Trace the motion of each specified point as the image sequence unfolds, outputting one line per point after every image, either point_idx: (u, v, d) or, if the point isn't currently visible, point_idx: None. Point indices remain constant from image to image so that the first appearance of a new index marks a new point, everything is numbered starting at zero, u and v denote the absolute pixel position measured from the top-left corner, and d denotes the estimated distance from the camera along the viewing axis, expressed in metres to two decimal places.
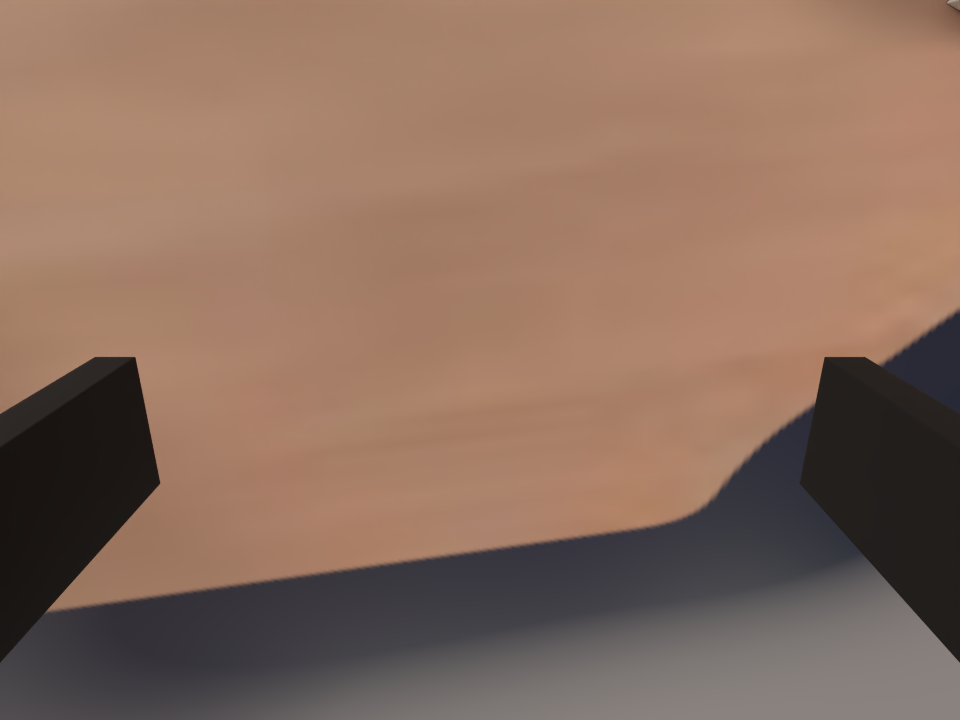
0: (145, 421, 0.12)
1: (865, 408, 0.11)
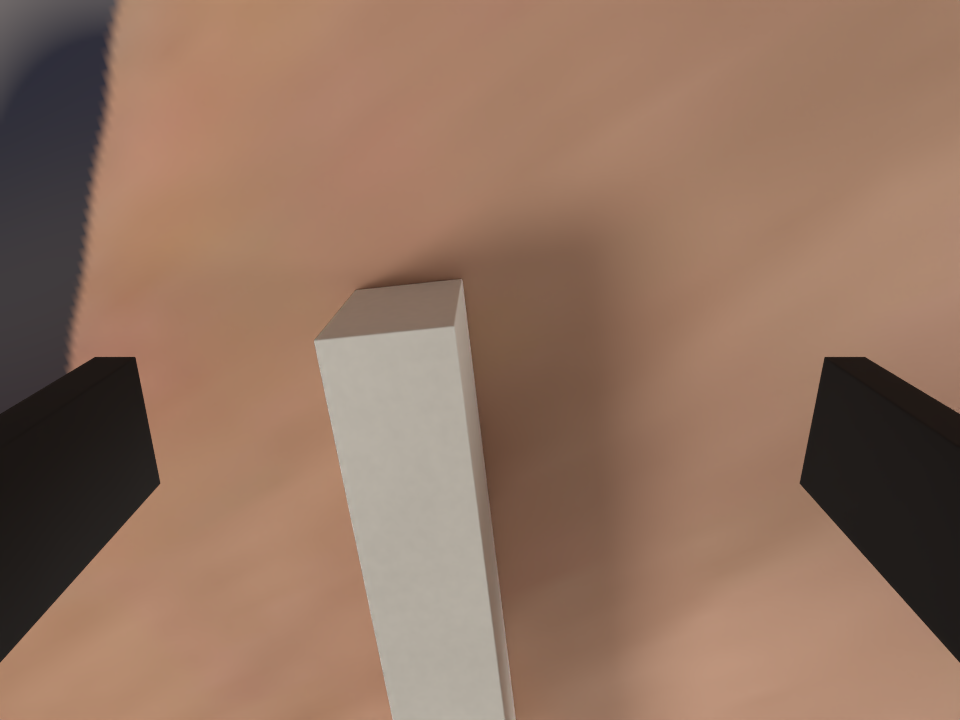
0: (145, 421, 0.12)
1: (866, 408, 0.11)
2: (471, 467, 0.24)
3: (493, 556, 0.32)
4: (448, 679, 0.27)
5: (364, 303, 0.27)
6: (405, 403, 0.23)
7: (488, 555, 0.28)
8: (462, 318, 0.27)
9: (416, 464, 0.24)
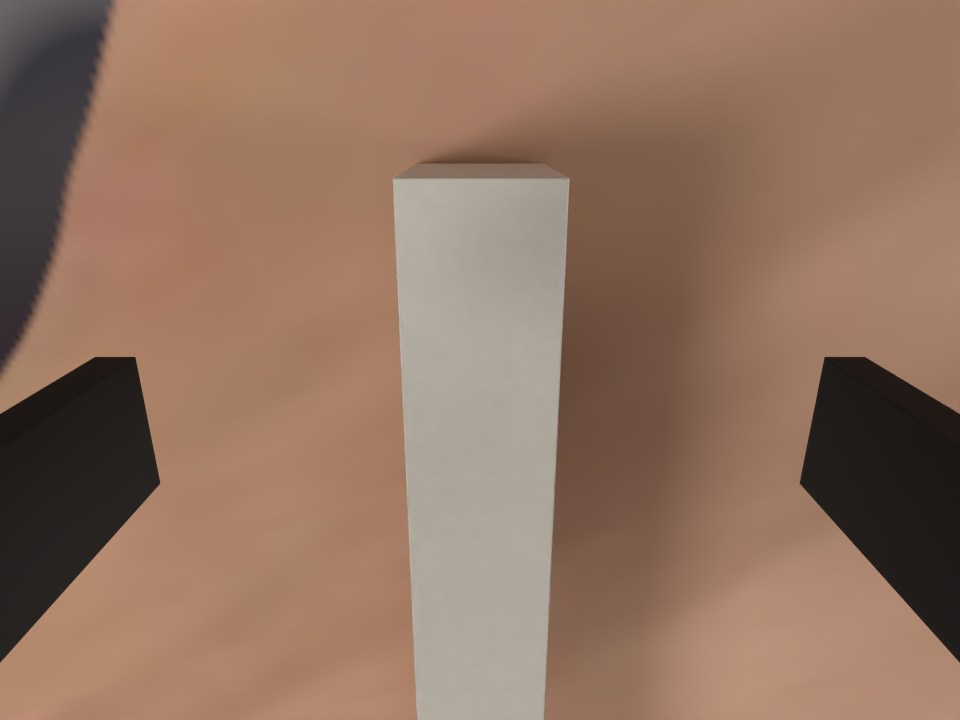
0: (145, 421, 0.12)
1: (866, 408, 0.11)
2: (559, 364, 0.20)
3: None
4: (488, 625, 0.23)
5: (436, 168, 0.22)
6: (493, 273, 0.19)
7: None
8: None
9: (493, 354, 0.20)
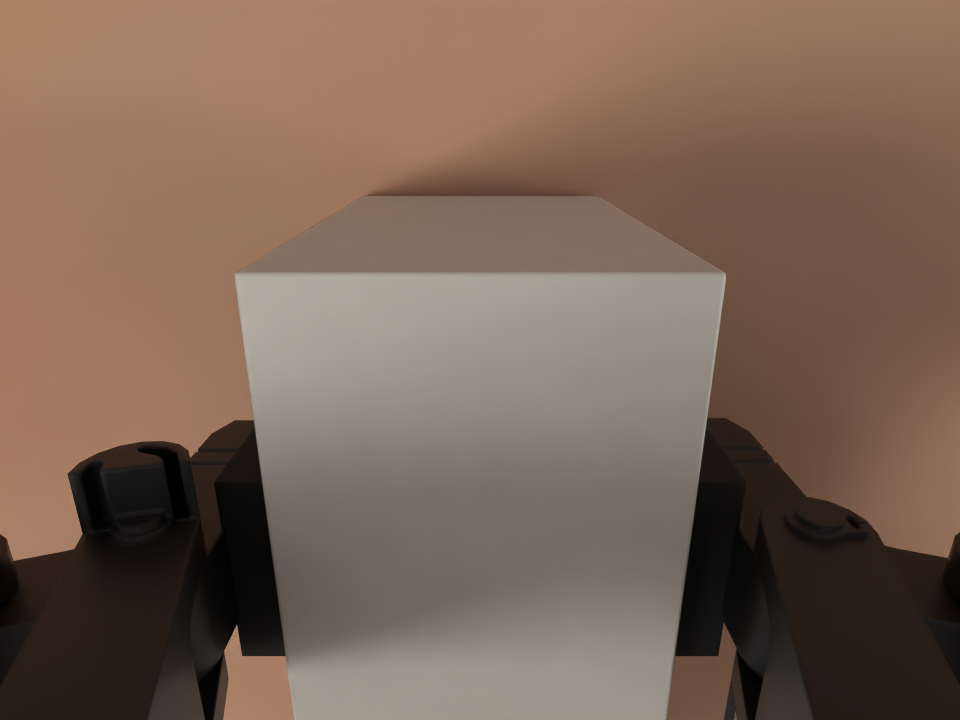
0: None
1: None
2: (667, 694, 0.08)
3: None
4: None
5: (389, 213, 0.11)
6: (513, 506, 0.07)
7: None
8: None
9: (512, 673, 0.08)
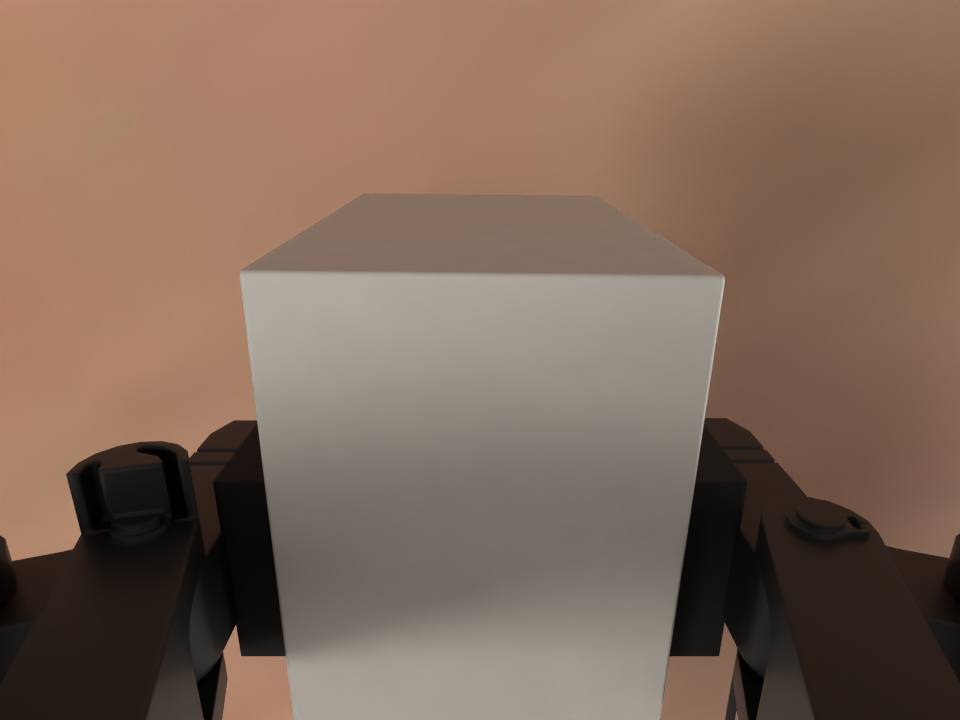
0: None
1: None
2: (662, 690, 0.08)
3: None
4: None
5: (391, 211, 0.11)
6: (511, 504, 0.07)
7: None
8: None
9: (508, 670, 0.08)
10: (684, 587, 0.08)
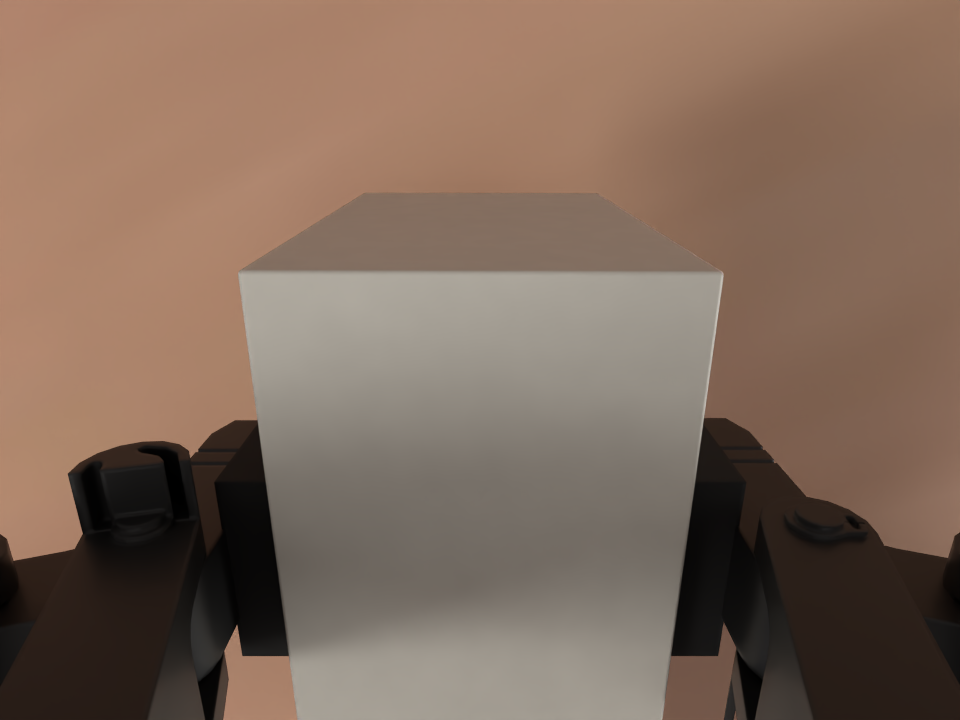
0: None
1: None
2: (664, 687, 0.08)
3: None
4: None
5: (391, 210, 0.11)
6: (512, 502, 0.07)
7: None
8: None
9: (510, 667, 0.08)
10: (683, 587, 0.08)
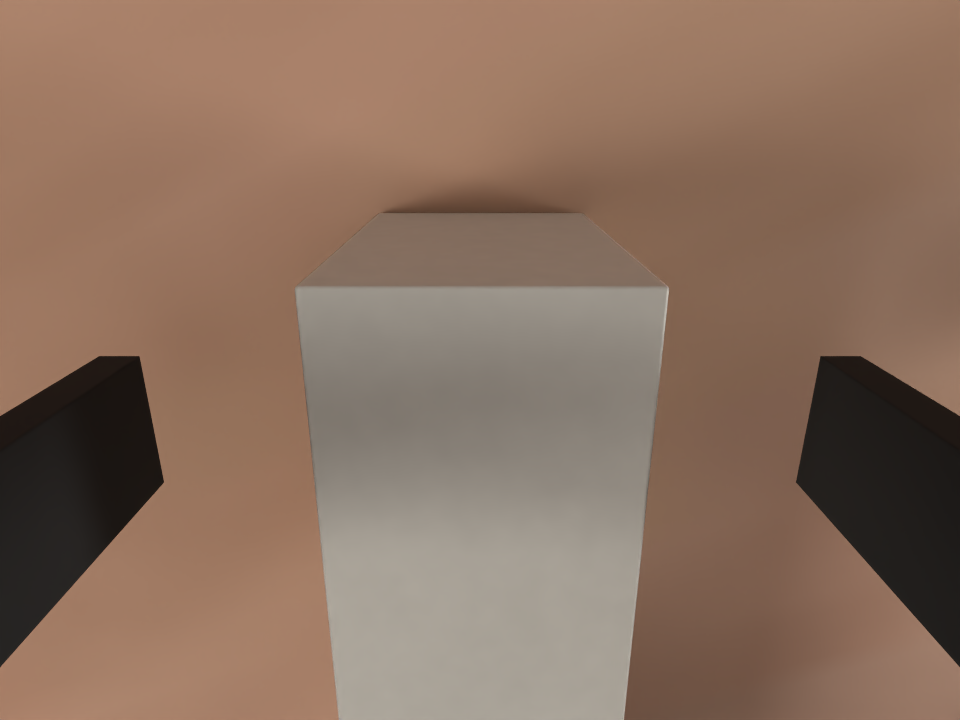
0: (149, 420, 0.12)
1: (861, 407, 0.11)
2: (632, 622, 0.10)
3: None
4: None
5: (405, 231, 0.13)
6: (507, 468, 0.09)
7: None
8: None
9: (506, 606, 0.10)
10: None
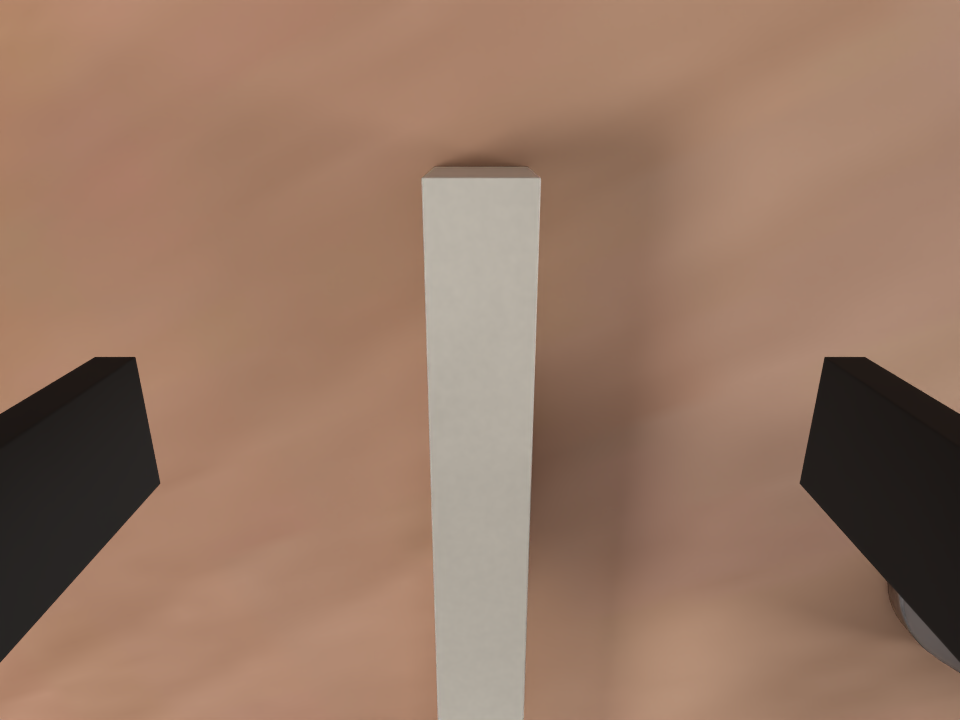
0: (145, 421, 0.12)
1: (866, 408, 0.11)
2: (535, 307, 0.28)
3: None
4: (486, 503, 0.32)
5: (449, 170, 0.31)
6: (490, 243, 0.27)
7: None
8: None
9: (490, 299, 0.28)
10: None
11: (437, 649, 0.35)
